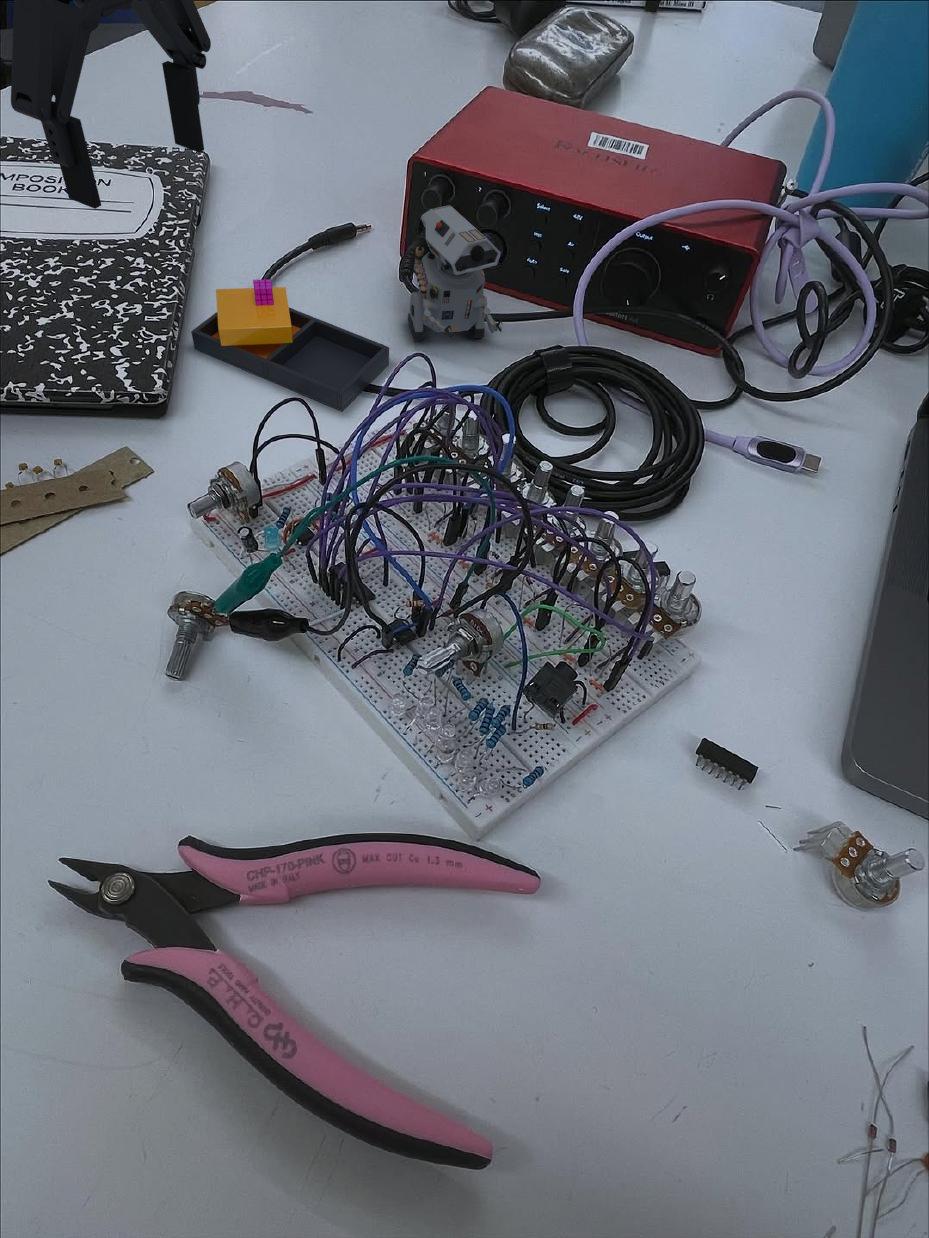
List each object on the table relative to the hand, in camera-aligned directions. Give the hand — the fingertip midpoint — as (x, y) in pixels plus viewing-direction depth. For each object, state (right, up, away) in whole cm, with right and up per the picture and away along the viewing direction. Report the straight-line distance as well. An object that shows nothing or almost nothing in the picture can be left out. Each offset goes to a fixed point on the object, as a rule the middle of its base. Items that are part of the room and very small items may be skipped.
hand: (140, 173), depth 70 cm
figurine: (+27, -5, +28) cm, 39 cm away
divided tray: (+8, -8, +24) cm, 26 cm away
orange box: (+4, -5, +23) cm, 24 cm away
